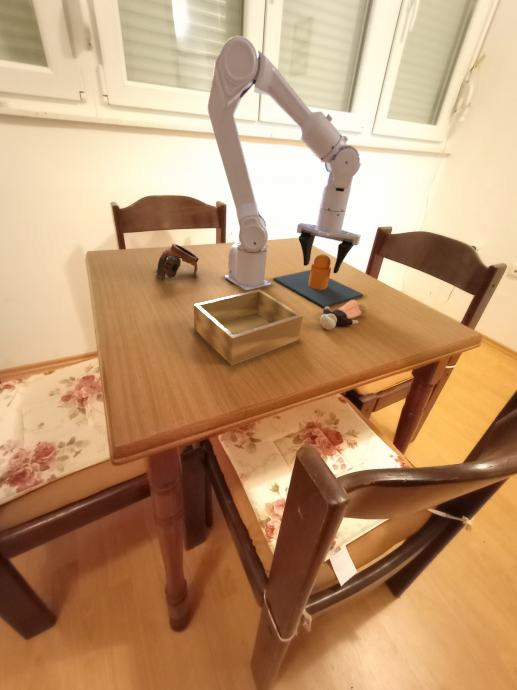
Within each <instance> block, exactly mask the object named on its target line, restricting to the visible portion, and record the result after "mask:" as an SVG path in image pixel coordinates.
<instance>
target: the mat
mask: <svg viewBox="0 0 517 690" xmlns="http://www.w3.org/2000/svg"><path fill="white" fill-rule="evenodd" d="M310 272H311V269H309V270H304V271H300V272H295V273H291V274H285V275H281V276H277V277H273V281H275V282H276V283H279V284H280V285H282V286H284V287H286V288H287V289H288V290H291V291H293V292H295V293H296V294H298V295H300V296H302V297H303V298H305V299H307V300H309V301H311V302H312V303H314V304H315V305H317V306H319V307H321V308H323V309H325V307H326V306H328V307H329V308H330V307H332V306H335V305H340V304H342V303H344V302H349V301H350V300H355V299H357V298H361V297H363V295H364V294H363V293H361V292H359V291H357V290H356V289H354V288H351V287H349V286H347V285H345V284H342V283H341V282H338V281H336V280H334V279H331V278H330V277H329V281H328V285H327V288H326V289H323V290H318V289H313V288H311V287H309V285H308V283H309V277H310Z"/></svg>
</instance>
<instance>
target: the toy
mask: <svg viewBox="0 0 517 690" xmlns="http://www.w3.org/2000/svg"><path fill="white" fill-rule="evenodd" d="M331 264H332V263H331V258H330V257H329V256H328V255H327V254H324V253H323V254H322V253H321V254H318V255H317V256H316V257H315V258H314V260H313V263H312V264H311V265H310V266H311V267H310V270H311V272H310V277H309V283H308V285H309V287H311V288H313V289H318V290H323V289H326V288H327V285H328V281H329V278H330V277H331V272H332V267H331Z"/></svg>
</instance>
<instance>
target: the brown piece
mask: <svg viewBox="0 0 517 690" xmlns="http://www.w3.org/2000/svg"><path fill="white" fill-rule="evenodd" d="M199 260H200V259H199V257H198V256H197V255H195V254H194V253H193V252H191V251H190V250H188V249H186V248H184V247H183V246H180V245H179V244H175V243H171V246H170V247H168V248H166V249H165V250H163V251H162V253H161V254H160V256H159V259H158V262H157V263H158V264H157V269H156V274H157V275H158V277H160V278H162V280H163V279H165V277H166V276H167V277H168V278H176V276H177V272H178V270H179V269H180V267H181V264H182V263H181V262H184V263H187V264H190V265H192V266H193V267H194V270H193V276H196V275H197V273H198V261H199Z"/></svg>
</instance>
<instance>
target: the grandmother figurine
mask: <svg viewBox="0 0 517 690" xmlns="http://www.w3.org/2000/svg"><path fill="white" fill-rule="evenodd" d="M366 312H367V306H366V305H365V304H359V303H358V301H357V300H356V299H351V300H348V301H347V302H346V303H345V304H343V305H342V306H340V307H339V308H337V309H334V310H332V311H331V307H330V306H329V307H328V306H326V307H325V308H323V311H322V313H323V314H322V315H321V316H320V319H319V320H320V321H319V322H320V326H321V327H322V329H325V330H326V331H331V330H333V329H334V328H335V327H336V326H337V325H344V326H357V325H359V320H358V319H355V318H357V317H362V316H363V315H364V314H365V313H366Z"/></svg>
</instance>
